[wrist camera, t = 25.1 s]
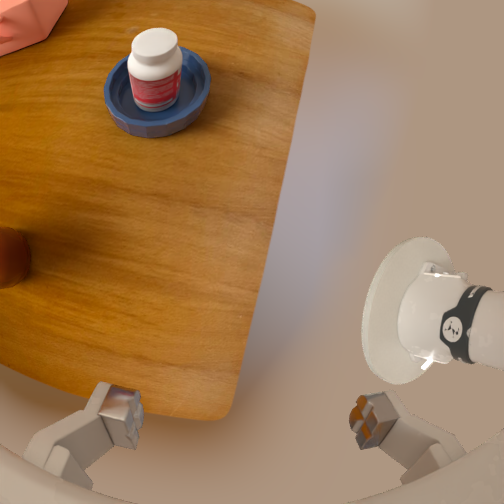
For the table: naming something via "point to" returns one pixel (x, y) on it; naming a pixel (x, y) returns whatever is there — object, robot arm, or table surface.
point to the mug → (13, 257)
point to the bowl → (161, 122)
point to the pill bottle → (155, 69)
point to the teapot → (27, 22)
